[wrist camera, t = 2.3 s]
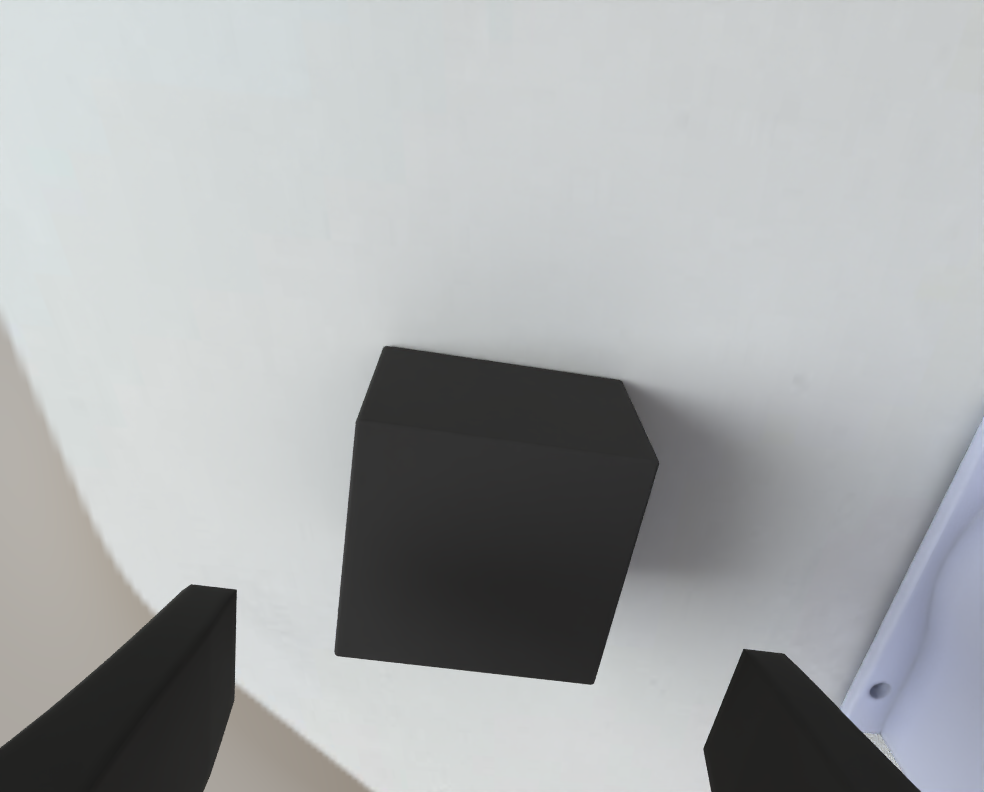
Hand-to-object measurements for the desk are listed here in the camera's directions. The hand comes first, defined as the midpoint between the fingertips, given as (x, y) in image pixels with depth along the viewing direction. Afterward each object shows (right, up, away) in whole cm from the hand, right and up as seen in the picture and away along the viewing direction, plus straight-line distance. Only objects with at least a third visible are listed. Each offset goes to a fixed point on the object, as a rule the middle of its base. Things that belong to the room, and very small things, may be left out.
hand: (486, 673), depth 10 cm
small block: (0, +2, +6) cm, 6 cm away
